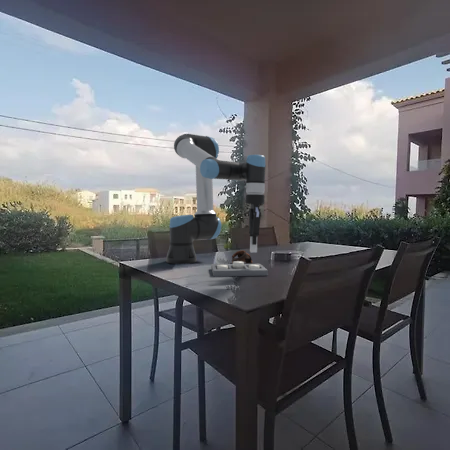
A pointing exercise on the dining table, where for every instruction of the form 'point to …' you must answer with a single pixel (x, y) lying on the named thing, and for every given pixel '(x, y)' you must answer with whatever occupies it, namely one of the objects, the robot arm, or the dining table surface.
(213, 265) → the board
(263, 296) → the dining table surface
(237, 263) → the button mid
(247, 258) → the brown looped knot
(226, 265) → the button
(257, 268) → the button
